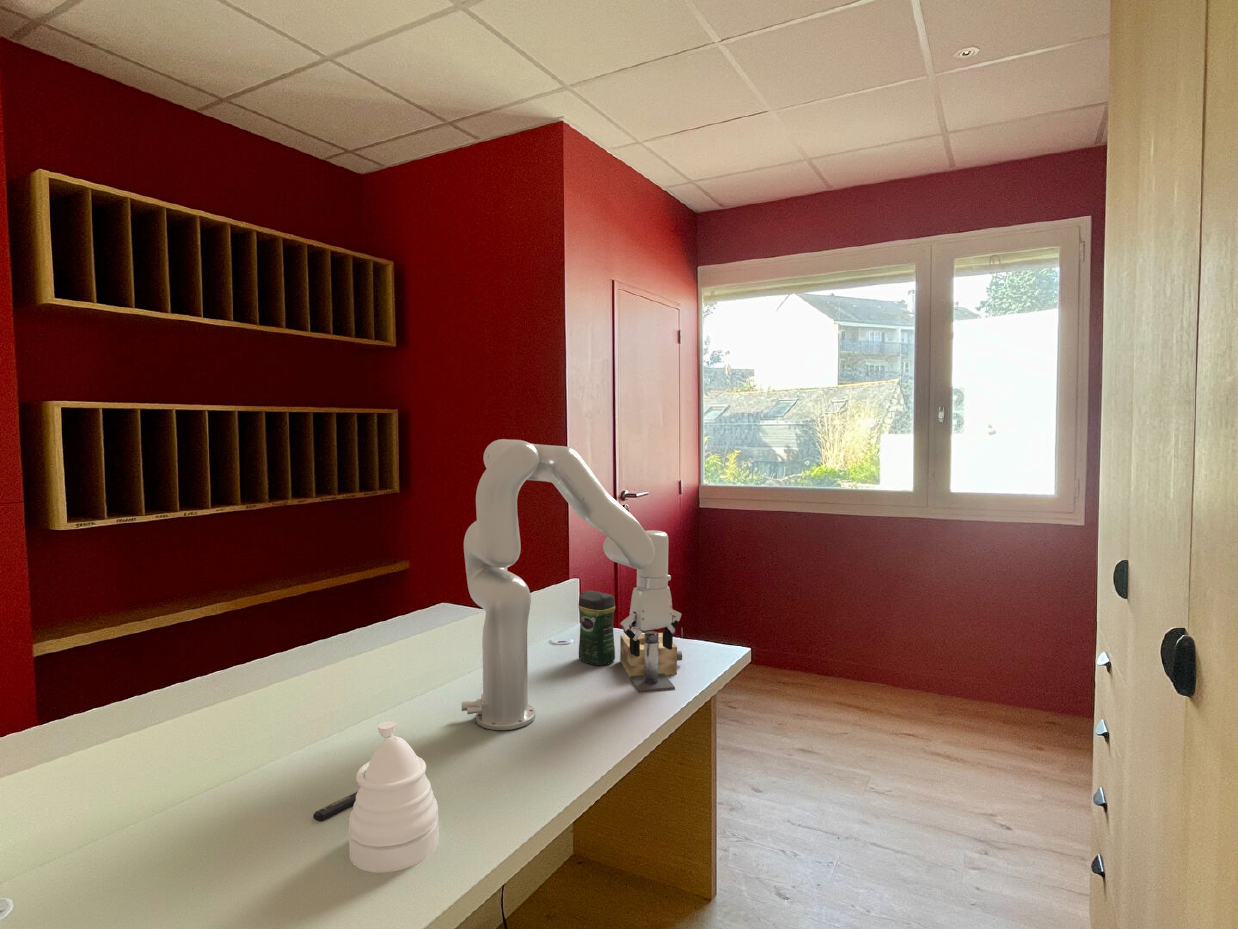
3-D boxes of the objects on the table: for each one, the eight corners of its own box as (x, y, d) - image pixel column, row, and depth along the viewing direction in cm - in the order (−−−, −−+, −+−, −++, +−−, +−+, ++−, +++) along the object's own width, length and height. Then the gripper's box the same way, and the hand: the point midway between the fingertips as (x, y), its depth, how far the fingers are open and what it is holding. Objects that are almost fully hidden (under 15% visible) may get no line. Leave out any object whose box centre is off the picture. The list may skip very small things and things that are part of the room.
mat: (638, 692, 162) (638, 690, 162) (629, 678, 171) (629, 676, 171) (674, 689, 164) (674, 687, 164) (664, 675, 173) (664, 673, 173)
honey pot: (335, 844, 104) (332, 728, 103) (413, 810, 113) (411, 704, 112) (372, 885, 95) (370, 759, 94) (454, 845, 104) (453, 729, 103)
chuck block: (630, 677, 171) (631, 650, 171) (620, 661, 183) (620, 635, 183) (688, 673, 175) (688, 646, 174) (674, 657, 186) (674, 632, 186)
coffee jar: (620, 660, 184) (620, 592, 182) (599, 668, 178) (600, 598, 176) (593, 652, 190) (593, 586, 189) (573, 660, 184) (573, 591, 183)
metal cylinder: (641, 681, 168) (641, 633, 167) (652, 678, 170) (652, 630, 169) (650, 685, 165) (650, 636, 164) (661, 682, 167) (661, 634, 166)
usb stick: (363, 794, 118) (363, 785, 118) (372, 799, 117) (372, 790, 117) (311, 819, 111) (311, 810, 111) (320, 825, 109) (320, 816, 109)
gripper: (671, 575, 174) (670, 641, 175) (613, 583, 164) (613, 653, 165) (690, 581, 167) (688, 650, 168) (631, 589, 158) (630, 662, 159)
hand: (651, 651), depth 167 cm, fingers open, 9 cm apart
